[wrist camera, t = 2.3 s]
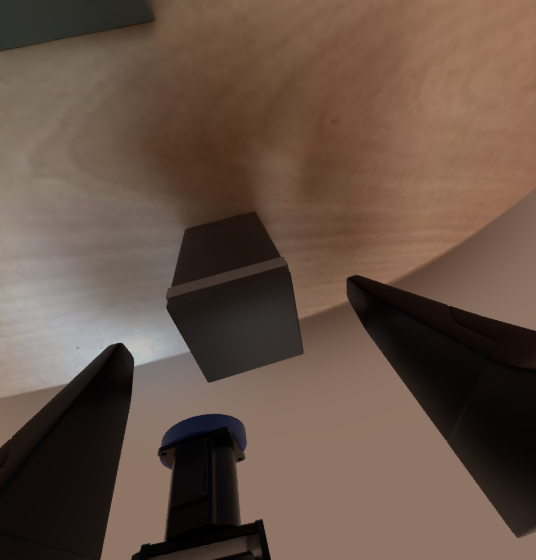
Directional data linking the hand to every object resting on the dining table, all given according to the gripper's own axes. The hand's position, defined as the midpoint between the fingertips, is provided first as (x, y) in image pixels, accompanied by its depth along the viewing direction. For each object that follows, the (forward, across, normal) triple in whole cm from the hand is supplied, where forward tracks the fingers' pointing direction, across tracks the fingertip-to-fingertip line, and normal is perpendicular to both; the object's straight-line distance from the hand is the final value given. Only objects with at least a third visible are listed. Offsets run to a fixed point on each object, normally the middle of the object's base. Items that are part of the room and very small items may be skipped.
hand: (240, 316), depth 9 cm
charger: (+6, 0, 0) cm, 6 cm away
